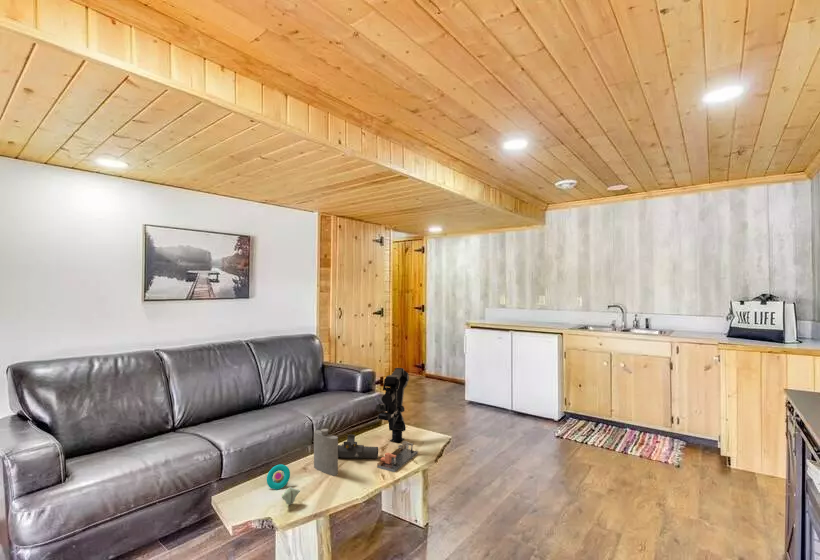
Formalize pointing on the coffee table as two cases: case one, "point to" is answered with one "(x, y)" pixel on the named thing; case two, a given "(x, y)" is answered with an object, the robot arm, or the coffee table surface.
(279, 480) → the ornament
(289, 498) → the grey-green faceted piece
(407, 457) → the plate
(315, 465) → the hip flask
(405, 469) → the coffee table surface
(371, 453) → the laser sight
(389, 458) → the block
